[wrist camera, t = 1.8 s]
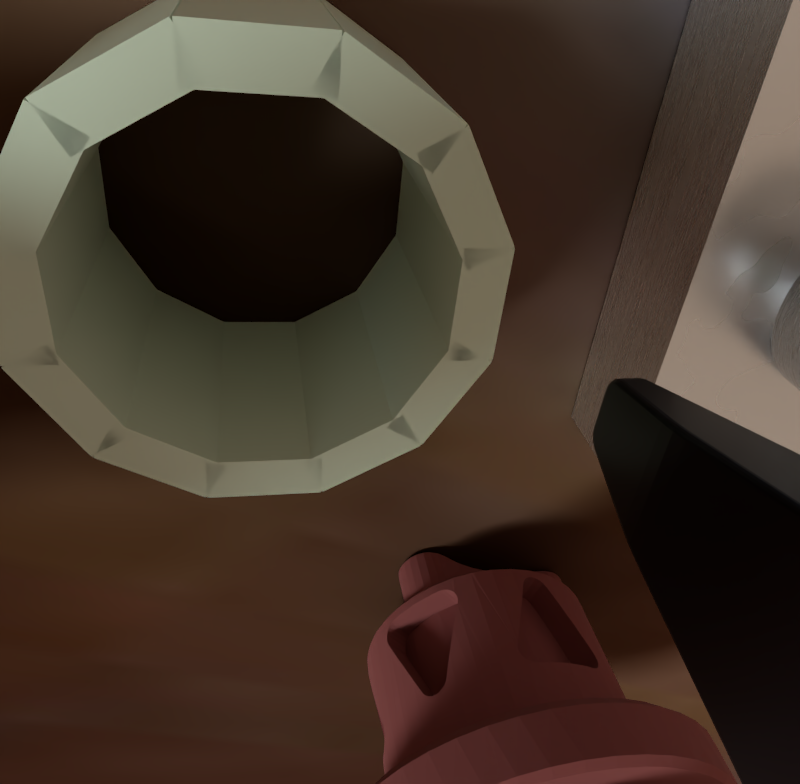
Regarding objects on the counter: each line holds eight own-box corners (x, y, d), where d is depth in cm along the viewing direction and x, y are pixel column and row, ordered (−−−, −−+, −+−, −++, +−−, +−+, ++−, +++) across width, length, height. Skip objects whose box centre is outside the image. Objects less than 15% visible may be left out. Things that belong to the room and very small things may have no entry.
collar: (89, 353, 16) (36, 506, 12) (21, -38, 12) (-97, -8, 8) (416, 350, 17) (467, 485, 13) (460, 4, 13) (555, 47, 9)
